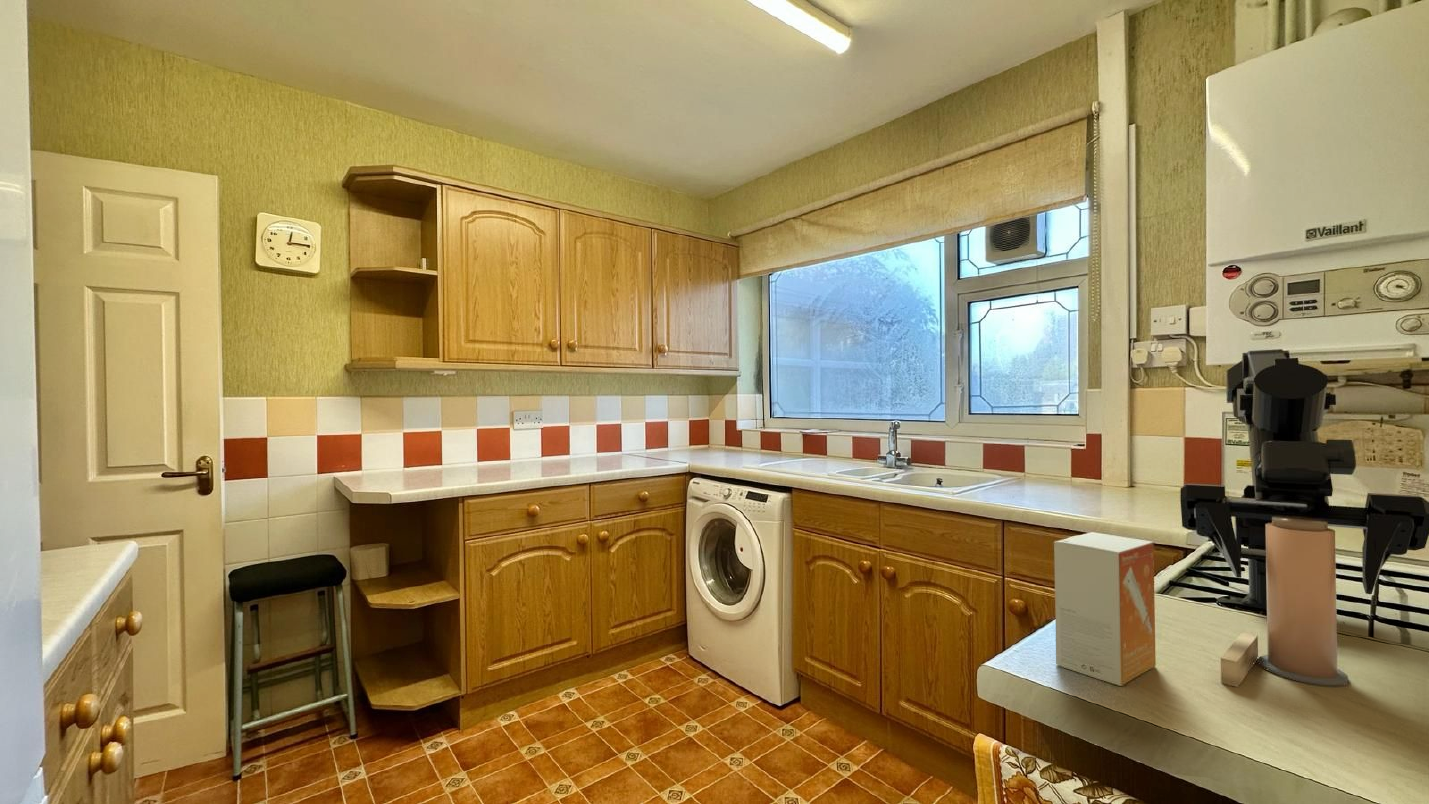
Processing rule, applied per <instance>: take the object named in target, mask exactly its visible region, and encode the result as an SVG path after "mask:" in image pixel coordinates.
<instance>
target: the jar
mask: <svg viewBox="0 0 1429 804" xmlns="http://www.w3.org/2000/svg"><path fill="white" fill-rule="evenodd" d="M1265 527H1266V587H1267V609H1266V628H1267V629H1266V635H1267V636H1266V637H1267V638H1266V639H1267V641H1266V642H1267V648H1266V649H1267V655H1268V662H1269V663H1270V664H1272V665H1273V666H1275V667H1278V668H1280V669H1282V670H1285V671H1288V672H1292V673H1295V674H1299V675H1304V676H1309V677H1316V678H1334V677H1337V675H1338V670H1337V669H1338V626H1337V625H1338V623H1337V622H1338V620H1337V619H1338V618H1337V564H1336V561H1337V559H1336V555H1337V554H1336V531H1335V529H1333V528H1329V526H1328V522H1327V521H1324V520H1320V519H1314V518H1306V517H1296V516H1273V517H1272V523H1267V524H1265Z"/></svg>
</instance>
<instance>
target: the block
mask: <svg viewBox="0 0 1429 804" xmlns="http://www.w3.org/2000/svg"><path fill="white" fill-rule="evenodd" d="M1257 657H1258V658H1259V636H1258V635H1257V634H1252V633H1249V632H1244V631H1243V632H1242V633H1240V635H1239V636H1238V637H1237V638H1236V639H1235V640H1234V642H1233V643H1232V644H1231V645H1230V646H1229V647H1228V649H1227V650H1226V651H1225V652H1224V653H1223V654H1222V655H1221V657H1220V680H1221V681H1220V683H1221V684H1225V685H1228V686H1233V687H1236V688H1239V686H1240V685H1241V683H1242V681H1243V680H1244V679H1245V677H1247V675H1248V674H1249V672H1250V671H1251V669H1252V668H1251V666H1252V665H1253V663H1254V662H1255V661H1256V659H1257ZM1257 660H1258V659H1257ZM1256 662H1257V661H1256ZM1256 662H1255V663H1256ZM1255 663H1254V664H1255ZM1253 666H1254V665H1253ZM1253 666H1252V667H1253ZM1250 668H1251V669H1250ZM1248 671H1249V672H1248Z"/></svg>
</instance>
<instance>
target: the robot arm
mask: <svg viewBox="0 0 1429 804" xmlns="http://www.w3.org/2000/svg"><path fill="white" fill-rule="evenodd" d="M1241 356H1242V357H1241V360H1240V361H1239V362H1238V363H1236V364H1235V365H1233V366H1232V367H1230V368H1229V369H1227V370H1226V382H1225V384H1226V385H1225V386H1226V387H1225V388H1226V391H1225V392H1226V403H1227V404H1232V413H1233V417H1234V418H1236V419H1237V420H1238V421H1240V422H1241V423H1243V424H1244V425H1246V426H1247V435H1248V446H1249V457H1250V467H1251V478H1252V484H1250V485H1249V484H1248V485H1246V486H1245V488H1244V489H1243V495H1241V497H1235V496H1234V497H1233V496H1232V497H1231V496H1226V485H1223V484H1222V485H1221V484H1207V483H1206V484H1204V483H1203V484H1201V483H1185V484H1184V485H1183V486H1182V487H1180V488H1179V489H1180V495H1179V496H1180V498H1179V499H1180V511H1181V512H1180V513H1181V526H1182V528H1184V529H1186V530H1188V531H1196V534H1197V535H1198V536H1200V537H1204V538H1205V537H1206V538H1208V539H1209V540H1210V542H1211V543H1212V544H1213V546H1215V547H1216V549H1218V551H1219V552H1220V553H1221V555H1222V557H1223V558H1224V559H1225V561H1226V563H1227V565H1228V566H1229V568H1230V570H1231V571H1232V573H1233V575H1234V576H1235V578H1240V579H1242V561H1241V559H1247V562H1248V564H1247V565H1248V591H1249V593H1247V595H1246V596H1245V597H1244V598H1242V600H1241V605H1243V606H1246V607H1247V606H1248V607H1252V608H1256V609H1257V608H1258V609H1262V610H1267V587H1266V527H1265V524H1267V523H1272V517H1273V516H1296V517H1306V518H1314V519H1320V520H1324V521H1327V522H1328V527H1335V528H1349V529H1350V528H1351V529H1360V530H1361V529H1362V533H1363V544H1362V550H1361V551H1362V552H1361V553H1362V555H1361V557H1362V560H1361V563H1362V566H1361V567H1362V586H1363V589H1364V592H1365V594H1367V595H1373V592H1374V590H1375V586H1376V584H1377V583H1376V582H1378V581H1377V580H1378V577H1379V574H1380V572H1381V570H1382V568H1383V566H1384V565H1385V563H1386V562H1387V561H1388V560H1389V558H1390V557H1391V556H1393V555H1394V556H1395V555H1396V556H1402V555H1406V554H1407V553H1408V551H1419V550H1422V549H1425V548H1426V545H1427V542H1428V539H1429V501H1428V500H1427V499H1425V498H1424V497H1422V496H1420V495H1417V494H1416V495H1412V494H1411V495H1410V494H1409V495H1408V494H1395V493H1392V494H1391V493H1377V492H1376V493H1375V492H1367V494H1366V495H1367V496H1366V499H1365V500H1366V501H1365V506H1364V507H1362V506H1361V507H1360V506H1359V507H1357V506H1347V505H1345V506H1342V505H1331V504H1330V503H1329V502H1330V501H1329V497H1333V490H1334V487H1333V482H1332V476H1331V475H1344V476H1345V475H1350V476H1351V475H1353V474H1354V472H1355V470H1356V468H1357V460H1356V452H1355V451H1356V450H1355V448H1354V447H1355V446H1354V444H1353V440H1352V439H1326V440H1325V442H1322V441H1320V440H1319V434H1318V433H1319V432H1318V430H1319V429H1320V428H1321V427H1322V425H1323V420H1324V416H1325V415H1326V414H1327V413H1328V412H1329V410H1330V408H1331V407H1333V406H1337V395H1336V394H1332V393H1331V392H1330V391H1329V390H1328V383H1329V381H1328V380H1329V378H1328V376H1327V375H1326V374H1324V373H1323V371H1321V370H1319V369H1318V368H1316V367H1313V366H1310V365H1307V364H1302V363H1300V362H1299V357H1291V356H1290V350H1283V349H1282V348H1278V349H1260V350H1257V349H1256V350H1248V351H1247V352H1242V355H1241ZM1233 517H1234V525H1233V520H1232V518H1233ZM1242 546H1243V547H1242Z"/></svg>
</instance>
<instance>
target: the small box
mask: <svg viewBox="0 0 1429 804" xmlns="http://www.w3.org/2000/svg"><path fill="white" fill-rule="evenodd" d="M1154 544H1155V542H1153V541H1150V540H1149V541H1148V540H1144V539H1143V540H1142V539H1137V538H1131V537H1125V536H1120V535H1119V536H1118V535H1113V534H1107V533H1106V534H1105V533H1100V532H1096V531H1095V532H1094V531H1091V532H1087V533H1083V534H1079V535H1073V536H1069V537H1067V538H1064V539H1059V540H1055V541H1053V551H1054V552H1053V557H1054V559H1053V561H1054V563H1053V565H1054V566H1053V567H1054V603H1055V605H1054V606H1055V608H1054V609H1055V610H1054V611H1055V612H1054V613H1055V615H1054V616H1055V664H1056V665H1057V666H1059V667H1062V668H1065V669H1068V670H1071V671H1073V672H1077V673H1080V674H1082V675H1085V676H1089V677H1091V678H1094V679H1098V680H1100V681H1104V682H1107V683H1110V684H1113V685H1116V686H1120V687H1123V686H1124V685H1126V684H1127V683H1128V682H1130V681H1131V680H1133V679H1135V678H1137V677H1139V676H1140V675H1142V674H1144V673H1146V672H1147V671H1149V670H1151V669H1154V668H1155V667H1156V666H1157V665H1156V664H1157V663H1156V659H1157V658H1156V617H1155V616H1156V613H1155V612H1156V611H1155V610H1156V609H1155V608H1156V607H1155V605H1156V604H1155V603H1156V602H1155V554H1154V553H1155V552H1154V550H1155V549H1154V547H1155V545H1154Z"/></svg>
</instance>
